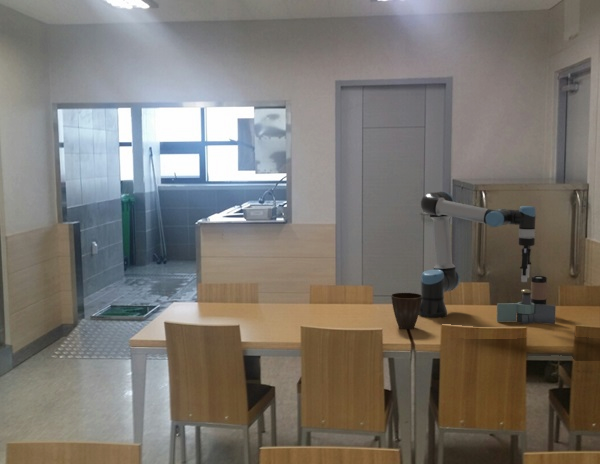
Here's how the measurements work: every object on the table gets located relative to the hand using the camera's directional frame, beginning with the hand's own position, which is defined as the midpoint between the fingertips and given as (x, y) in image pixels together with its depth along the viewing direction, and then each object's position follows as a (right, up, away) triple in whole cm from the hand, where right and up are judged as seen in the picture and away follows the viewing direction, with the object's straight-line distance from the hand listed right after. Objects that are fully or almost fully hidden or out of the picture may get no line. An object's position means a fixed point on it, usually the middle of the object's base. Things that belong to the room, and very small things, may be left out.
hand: (525, 279), depth 337 cm
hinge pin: (+1, -21, +2) cm, 21 cm away
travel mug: (+13, -20, +17) cm, 29 cm away
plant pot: (-60, -23, -6) cm, 65 cm away
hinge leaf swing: (-4, -21, +2) cm, 22 cm away
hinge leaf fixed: (+5, -21, 0) cm, 22 cm away
